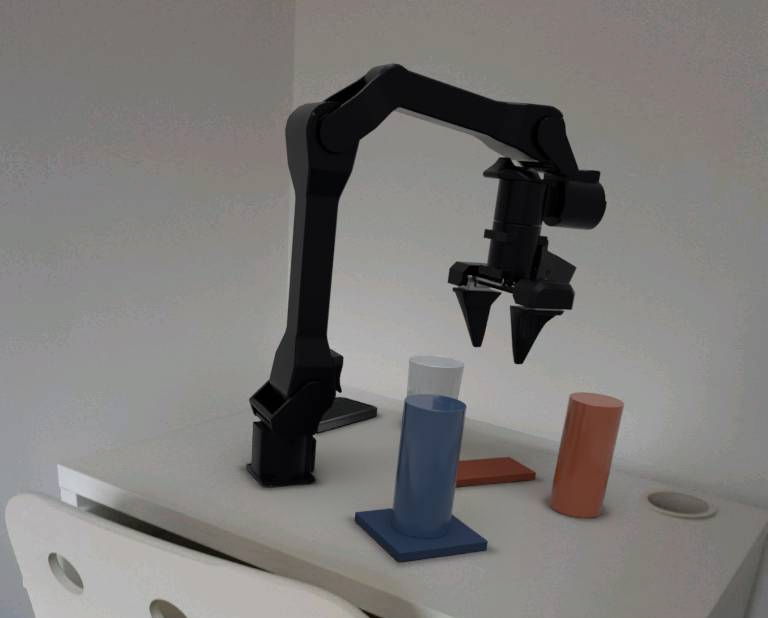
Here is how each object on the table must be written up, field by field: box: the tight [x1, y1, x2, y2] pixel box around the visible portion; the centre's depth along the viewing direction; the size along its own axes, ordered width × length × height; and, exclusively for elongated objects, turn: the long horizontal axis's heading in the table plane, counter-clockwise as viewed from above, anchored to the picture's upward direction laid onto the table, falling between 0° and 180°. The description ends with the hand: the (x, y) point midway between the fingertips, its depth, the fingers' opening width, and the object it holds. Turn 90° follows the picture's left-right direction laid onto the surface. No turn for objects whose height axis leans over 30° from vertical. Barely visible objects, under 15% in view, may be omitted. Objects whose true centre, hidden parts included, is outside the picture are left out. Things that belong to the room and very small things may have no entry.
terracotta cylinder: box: [548, 391, 625, 519], centre depth 92 cm, size 6×6×13 cm
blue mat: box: [354, 507, 489, 563], centre depth 83 cm, size 10×10×1 cm
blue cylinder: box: [391, 394, 468, 538], centre depth 80 cm, size 6×6×13 cm
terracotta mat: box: [455, 456, 537, 488], centre depth 102 cm, size 12×6×1 cm, turn 117°
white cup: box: [406, 354, 465, 400], centre depth 117 cm, size 8×8×10 cm
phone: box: [316, 396, 379, 433], centre depth 118 cm, size 8×1×15 cm
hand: (496, 355), depth 101 cm, fingers open, 9 cm apart
